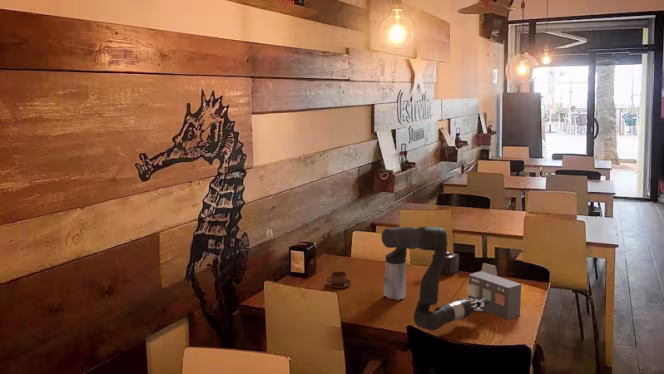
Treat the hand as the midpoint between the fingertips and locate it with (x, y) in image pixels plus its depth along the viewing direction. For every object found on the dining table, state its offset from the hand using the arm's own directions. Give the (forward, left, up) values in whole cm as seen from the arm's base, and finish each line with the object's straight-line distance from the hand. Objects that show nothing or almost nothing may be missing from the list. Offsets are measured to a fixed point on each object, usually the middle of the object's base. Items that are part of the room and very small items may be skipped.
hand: (486, 300), depth 250 cm
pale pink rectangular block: (+29, +34, -8) cm, 46 cm away
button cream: (+4, +13, -2) cm, 13 cm away
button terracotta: (+8, -1, -2) cm, 8 cm away
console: (+9, +6, -8) cm, 14 cm away
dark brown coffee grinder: (+19, +59, -8) cm, 63 cm away
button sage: (+7, +6, -2) cm, 9 cm away
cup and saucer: (-37, +66, -8) cm, 76 cm away
